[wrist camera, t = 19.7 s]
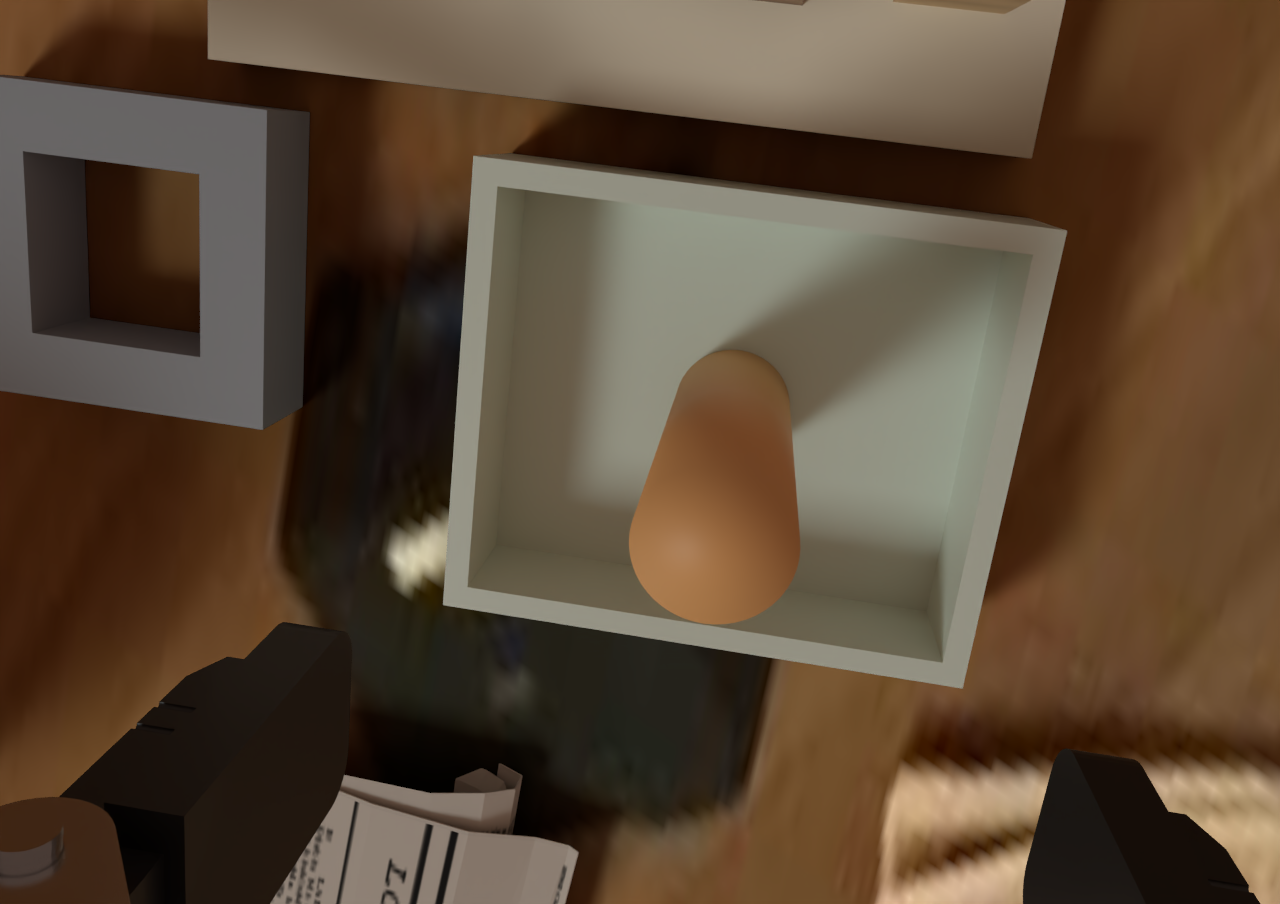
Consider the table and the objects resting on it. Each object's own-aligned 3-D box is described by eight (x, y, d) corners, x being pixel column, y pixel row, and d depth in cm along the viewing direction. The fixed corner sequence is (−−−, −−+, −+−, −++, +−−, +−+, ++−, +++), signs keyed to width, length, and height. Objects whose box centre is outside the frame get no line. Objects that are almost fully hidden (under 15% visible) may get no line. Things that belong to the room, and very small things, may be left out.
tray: (510, 153, 28) (473, 155, 24) (1030, 218, 27) (1067, 230, 23) (479, 553, 31) (443, 605, 28) (941, 625, 30) (962, 688, 27)
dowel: (683, 342, 28) (639, 452, 19) (798, 358, 28) (813, 478, 18) (668, 451, 29) (620, 610, 19) (780, 467, 29) (785, 636, 19)
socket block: (21, 76, 29) (-47, 71, 26) (309, 112, 28) (267, 110, 26) (36, 367, 31) (-25, 386, 29) (302, 406, 31) (262, 429, 28)
